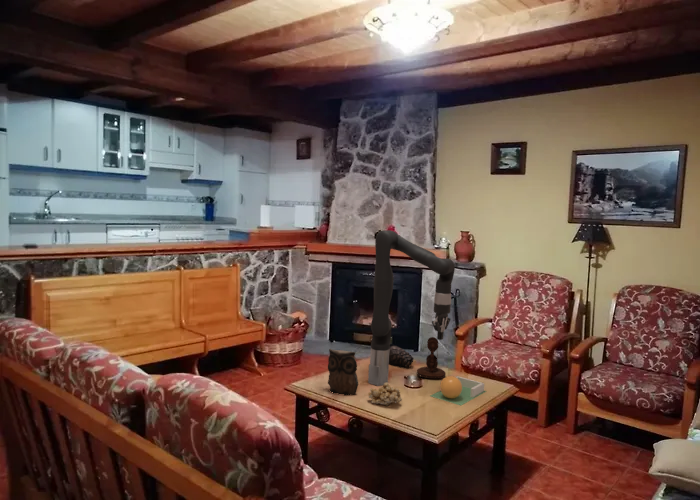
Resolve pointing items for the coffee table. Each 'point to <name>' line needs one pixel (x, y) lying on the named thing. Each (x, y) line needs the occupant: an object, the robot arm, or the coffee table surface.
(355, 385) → the owl
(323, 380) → the coffee table surface
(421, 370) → the dark wooden ornament
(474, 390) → the white side walls
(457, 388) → the ball
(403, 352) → the pine cone
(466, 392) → the felt strip
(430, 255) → the robot arm
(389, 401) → the mineral formation
